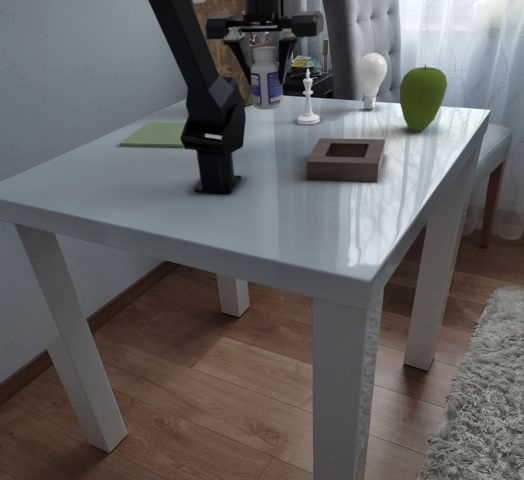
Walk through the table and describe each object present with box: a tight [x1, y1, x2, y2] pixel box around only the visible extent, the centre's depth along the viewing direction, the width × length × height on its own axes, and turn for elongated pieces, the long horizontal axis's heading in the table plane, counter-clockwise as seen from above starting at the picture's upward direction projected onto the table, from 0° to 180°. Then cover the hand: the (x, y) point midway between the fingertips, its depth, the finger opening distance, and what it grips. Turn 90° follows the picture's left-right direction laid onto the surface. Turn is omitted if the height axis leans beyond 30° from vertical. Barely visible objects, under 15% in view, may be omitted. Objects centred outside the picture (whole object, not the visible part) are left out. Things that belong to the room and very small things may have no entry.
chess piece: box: [296, 68, 320, 125], centre depth 106 cm, size 5×5×10 cm
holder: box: [306, 137, 386, 183], centre depth 86 cm, size 12×12×3 cm
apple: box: [399, 64, 448, 133], centre depth 96 cm, size 9×8×12 cm
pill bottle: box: [251, 45, 284, 111], centre depth 87 cm, size 5×5×9 cm
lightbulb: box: [356, 52, 388, 111], centre depth 109 cm, size 6×6×11 cm
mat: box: [119, 121, 186, 148], centre depth 108 cm, size 14×14×1 cm
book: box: [190, 0, 253, 106], centre depth 113 cm, size 17×7×25 cm, turn 126°
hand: (266, 84), depth 87 cm, fingers closed on pill bottle, 5 cm apart
